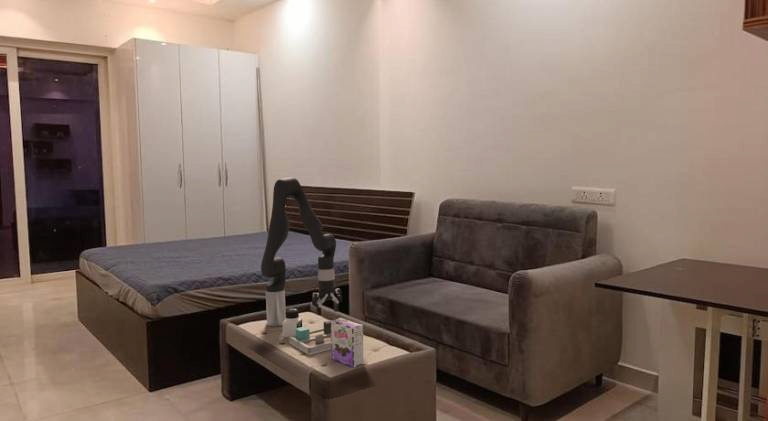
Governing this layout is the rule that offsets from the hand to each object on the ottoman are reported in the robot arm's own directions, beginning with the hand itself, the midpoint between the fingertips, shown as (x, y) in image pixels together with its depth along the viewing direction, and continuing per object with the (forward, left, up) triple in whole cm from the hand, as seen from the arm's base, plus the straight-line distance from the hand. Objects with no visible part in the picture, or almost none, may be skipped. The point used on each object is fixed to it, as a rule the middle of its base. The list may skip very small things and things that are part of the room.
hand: (327, 313), depth 251 cm
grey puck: (+9, -9, -9) cm, 16 cm away
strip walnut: (+9, -7, -11) cm, 16 cm away
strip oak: (0, -7, -11) cm, 13 cm away
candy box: (+30, -8, -12) cm, 33 cm away
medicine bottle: (-13, -11, -12) cm, 21 cm away
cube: (0, -13, -9) cm, 16 cm away
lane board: (+4, -7, -11) cm, 14 cm away
